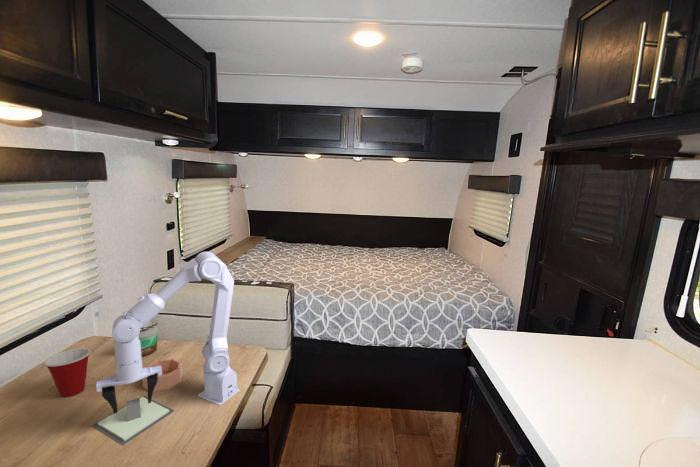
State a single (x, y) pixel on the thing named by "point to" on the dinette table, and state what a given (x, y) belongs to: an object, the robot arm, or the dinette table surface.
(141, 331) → the food container
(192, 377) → the dinette table surface
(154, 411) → the sheet
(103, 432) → the mat
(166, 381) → the bowl
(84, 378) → the plastic cup
